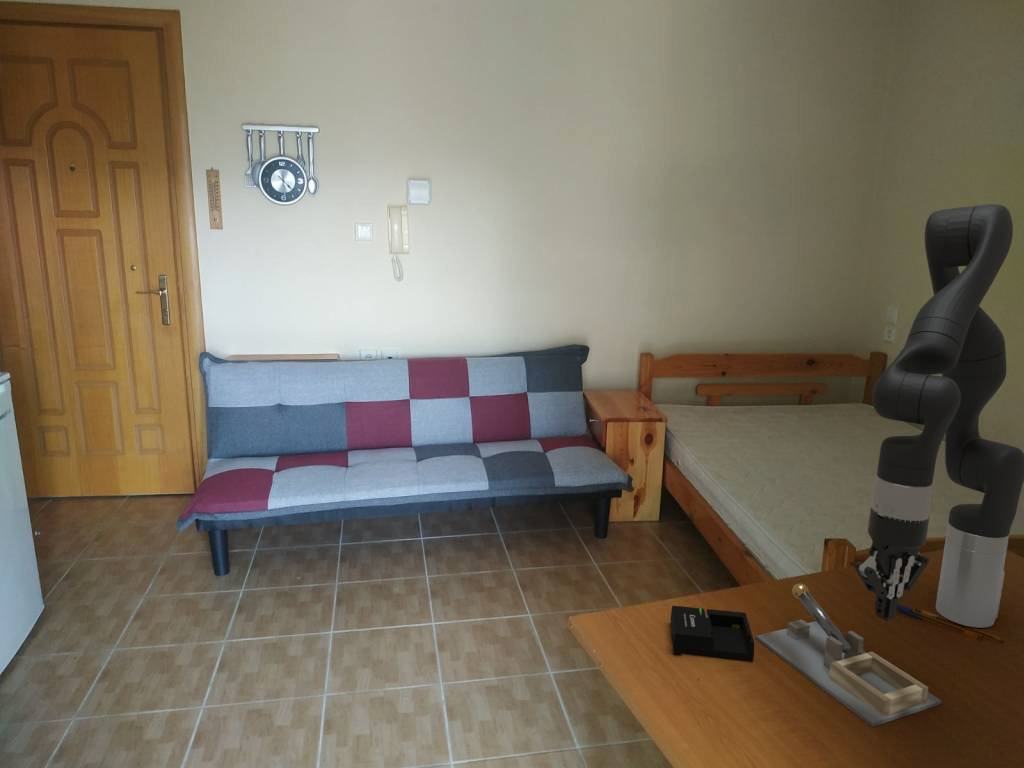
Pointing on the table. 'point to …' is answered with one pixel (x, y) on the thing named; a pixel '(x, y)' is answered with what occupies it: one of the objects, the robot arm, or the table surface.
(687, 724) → the table surface
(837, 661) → the grey mounting base
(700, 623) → the battery charger
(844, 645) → the metal lever
